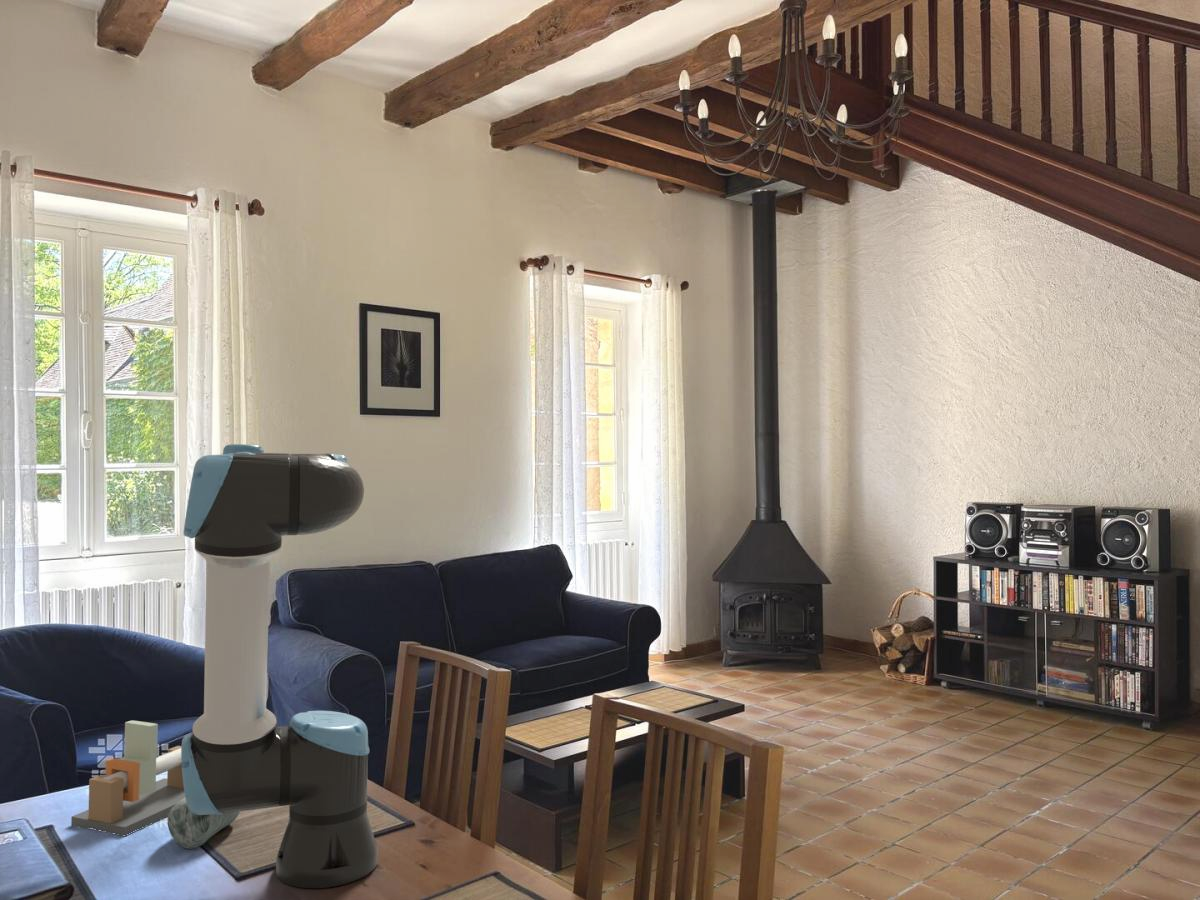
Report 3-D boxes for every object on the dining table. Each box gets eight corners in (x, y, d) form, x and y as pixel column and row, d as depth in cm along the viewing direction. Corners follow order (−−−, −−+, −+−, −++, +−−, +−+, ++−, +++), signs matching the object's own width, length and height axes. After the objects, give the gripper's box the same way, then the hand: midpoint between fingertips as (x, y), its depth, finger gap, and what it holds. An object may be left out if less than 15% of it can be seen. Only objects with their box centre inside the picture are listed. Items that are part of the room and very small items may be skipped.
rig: (213, 794, 168) (214, 748, 168) (124, 836, 149) (126, 784, 149) (163, 786, 172) (164, 741, 172) (71, 825, 153) (72, 775, 153)
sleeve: (156, 789, 159) (157, 723, 159) (138, 797, 155) (139, 730, 155) (130, 784, 161) (132, 720, 161) (111, 792, 157) (113, 726, 157)
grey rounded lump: (209, 838, 141) (195, 776, 145) (159, 861, 142) (146, 799, 146) (261, 826, 154) (247, 769, 157) (215, 848, 155) (202, 791, 159)
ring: (138, 799, 155) (139, 762, 155) (133, 802, 154) (134, 764, 154) (110, 794, 157) (111, 758, 157) (105, 796, 156) (105, 760, 156)
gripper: (251, 523, 180) (247, 642, 179) (199, 524, 168) (195, 651, 167) (280, 524, 177) (276, 644, 176) (230, 525, 165) (226, 654, 164)
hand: (237, 648), depth 171 cm, fingers closed
